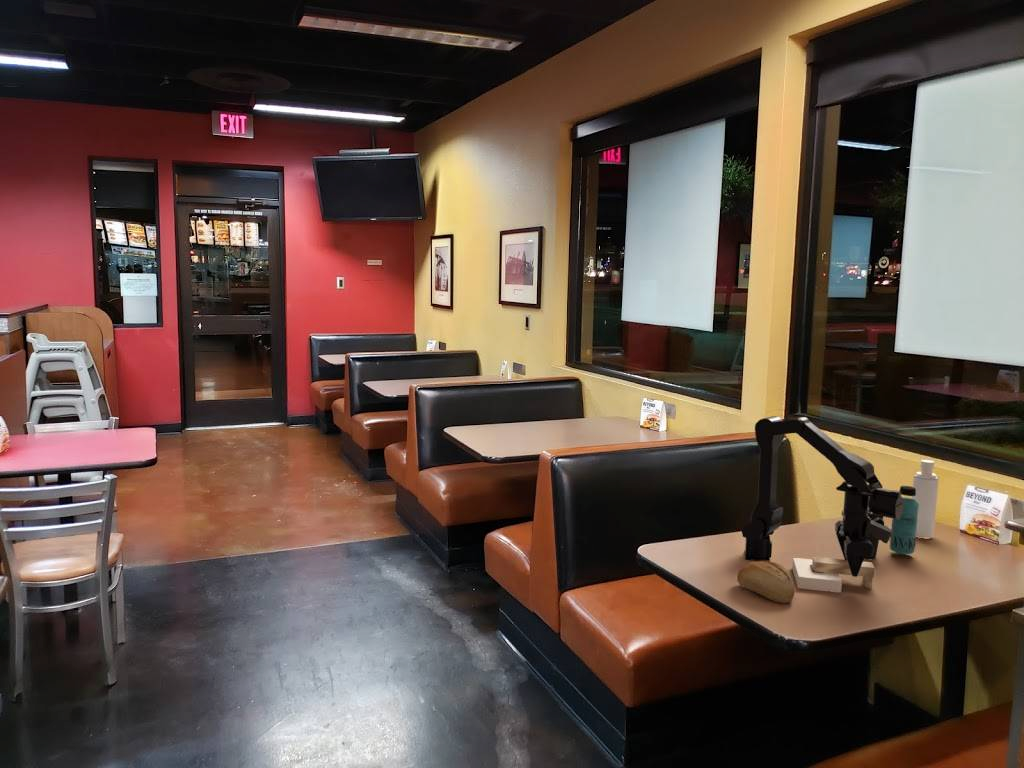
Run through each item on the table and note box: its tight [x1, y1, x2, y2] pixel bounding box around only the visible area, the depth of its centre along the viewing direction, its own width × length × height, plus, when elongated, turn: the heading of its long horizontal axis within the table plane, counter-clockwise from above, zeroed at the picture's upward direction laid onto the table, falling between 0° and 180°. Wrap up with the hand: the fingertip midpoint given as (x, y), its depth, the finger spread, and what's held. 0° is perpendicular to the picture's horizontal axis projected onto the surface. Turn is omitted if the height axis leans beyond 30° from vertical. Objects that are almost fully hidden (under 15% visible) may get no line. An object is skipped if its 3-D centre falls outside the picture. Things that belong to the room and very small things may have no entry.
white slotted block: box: [791, 557, 843, 594], centre depth 195 cm, size 10×14×3 cm
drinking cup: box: [862, 509, 884, 560], centre depth 212 cm, size 8×8×20 cm
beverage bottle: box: [889, 485, 919, 555], centre depth 213 cm, size 6×7×20 cm
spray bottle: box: [911, 459, 940, 538], centre depth 231 cm, size 7×7×25 cm
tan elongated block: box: [812, 556, 876, 589], centre depth 193 cm, size 14×4×6 cm, turn 76°
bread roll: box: [736, 560, 796, 604], centre depth 186 cm, size 10×15×8 cm, turn 38°
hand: (851, 569), depth 193 cm, fingers open, 9 cm apart
